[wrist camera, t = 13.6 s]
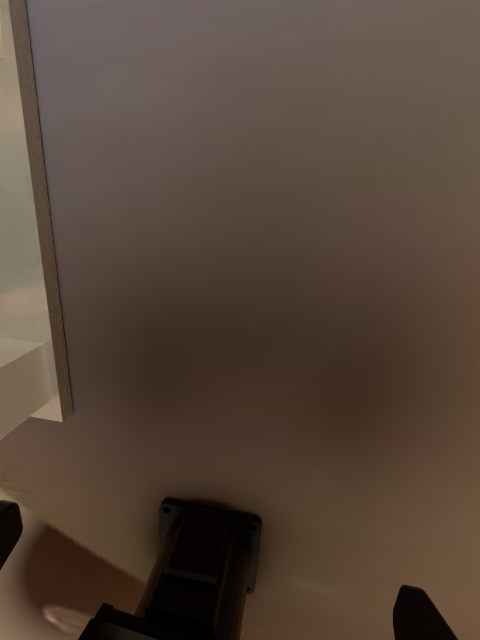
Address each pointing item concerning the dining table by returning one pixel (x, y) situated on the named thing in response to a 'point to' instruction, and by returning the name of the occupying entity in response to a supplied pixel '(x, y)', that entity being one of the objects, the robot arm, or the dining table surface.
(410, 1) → the dining table surface
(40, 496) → the dining table surface
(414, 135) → the dining table surface
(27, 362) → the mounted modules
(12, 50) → the rail plate
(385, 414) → the dining table surface
